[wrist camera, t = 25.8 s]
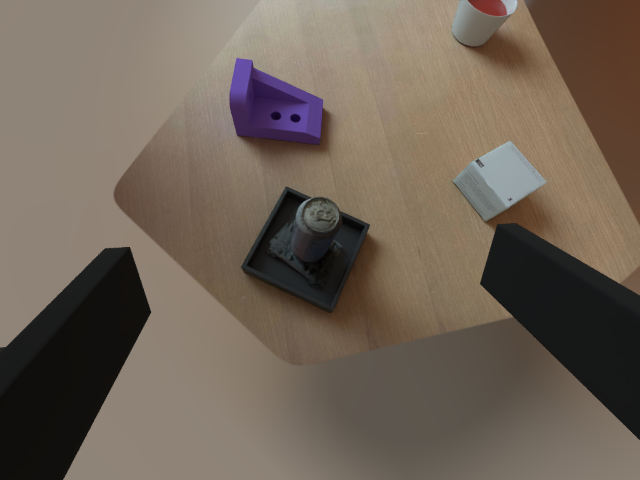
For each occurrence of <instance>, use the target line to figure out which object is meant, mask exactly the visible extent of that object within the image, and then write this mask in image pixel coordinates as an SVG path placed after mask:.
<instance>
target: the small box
mask: <svg viewBox="0 0 640 480" xmlns="http://www.w3.org/2000/svg"><path fill="white" fill-rule="evenodd" d="M453 182H454V183H455V184H456V185H457V187H458V188H459V189H460V190H461V192H462V193H463V194H464V195H465V197H466V198H467V199H468V200H469V202H470V203H471V204H472V206H473V207H474V208H475V209H476V211H477V212H478V213H479V214H480V216H481V217H482V218H483V220H484V221H485V222H486V221H488V220H490V219H491V218H493V217H495V216H496V215H498V214H500V213H502V212H503V211H505V210H506V209H508V208H510V207H511V206H513V205H515V204H516V203H518V202H519V201H521V200H522V199H524V198H525V197H527V196H528V195H529V194H531V193H532V192H534V191H535V190H537V189H538V188H540V187H541V186H542V185H544V184H545V183H547V182H546V180H545V179H544V178H543V177H542V176H541V175H540V174H539V173H538V172H537V171H536V169H535V168H534V167H533V166H532V165H531V164H530V163H529V161H528V160H527V159H526V158H525V157H524V156H523V155H522V154H521V152H520V151H519V150H518V149H517V148H516V147H515V145H514V144H513V143H512V142H511V141H509V142H507V143H505V144H503V145H501V146H500V147H498V148H496V149H494V150H492V151H490V152H489V153H487V154H485V155H483V156H481V157H480V158H478V159H476V160H474V161H472V162H471V163H470V164H469V165H468V166H467V167H466V168H465V169H464V170H463V171H462V172H461V173H460V174H459V175H458V176H457V177H456V178H455V179H454V180H453Z"/></svg>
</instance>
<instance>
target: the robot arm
mask: <svg viewBox="0 0 640 480" xmlns="http://www.w3.org/2000/svg"><path fill="white" fill-rule="evenodd" d="M480 284H481V285H482V286H483V287H484V288H485V289H486V290H487V291H488V292H489V293H490V294H491V295H492V296H493V297H494V298H495V299H496V300H497V301H498V302H499V303H500V304H501V305H502V306H503V307H504V308H505V309H506V310H507V311H508V312H509V313H510V314H511V315H512V316H513V317H514V318H515V319H517V321H518V322H520V323H521V324H522V325H523V326H524V327H525V328H526V329H527V330H528V331H529V332H530V333H531V334H532V335H533V336H534V337H535V338H536V339H537V340H538V341H539V342H540V343H541V344H542V345H543V346H544V347H545V348H546V349H547V350H548V351H549V352H550V353H551V354H552V355H553V356H554V357H555V358H556V359H557V360H558V361H559V362H560V363H562V365H563V366H565V367H566V368H567V369H568V370H569V371H570V372H571V373H572V374H573V375H574V376H575V377H576V378H577V379H578V380H579V381H580V382H581V383H582V384H583V385H584V386H585V387H586V388H587V389H588V390H589V391H590V392H591V393H592V394H593V395H594V396H595V397H596V398H597V399H598V400H599V401H600V402H601V403H602V404H603V405H604V406H605V407H606V408H608V409H609V410H610V411H611V412H612V413H613V414H614V415H615V416H616V417H617V418H618V419H619V420H620V421H621V422H622V423H623V424H624V425H625V426H626V427H627V428H628V429H629V430H630V431H631V432H632V433H633V434H634V435H635V436H636V437H637V438H638V439H639V440H640V295H638V294H636V293H634V292H633V291H631V290H629V289H627V288H626V287H624V286H622V285H621V284H619V283H617V282H616V281H614V280H612V279H610V278H609V277H607V276H605V275H604V274H602V273H600V272H599V271H597V270H595V269H593V268H592V267H590V266H588V265H587V264H585V263H583V262H581V261H580V260H578V259H576V258H575V257H573V256H571V255H569V254H568V253H566V252H564V251H563V250H561V249H559V248H557V247H556V246H554V245H552V244H551V243H549V242H547V241H545V240H544V239H542V238H540V237H539V236H537V235H535V234H533V233H532V232H530V231H528V230H527V229H525V228H523V227H521V226H520V225H518V224H516V223H510V224H497V227H496V231H495V234H494V238H493V241H492V244H491V248H490V251H489V255H488V258H487V262H486V265H485V268H484V272H483V275H482V279H481V282H480ZM150 313H151V310H150V307H149V304H148V301H147V298H146V295H145V292H144V289H143V286H142V283H141V280H140V277H139V273H138V271H137V267H136V264H135V262H134V258H133V255H132V252H131V249H130V247H122V248H105V249H104V250H103V251H102V252H101V253H100V254H99V255H98V256H97V257H96V258H95V259H94V260H93V261H92V262H91V263H90V264H89V265H88V266H87V267H86V268H85V269H84V270H83V271H82V272H81V273H80V274H79V275H78V276H77V277H76V278H75V279H74V280H73V281H72V282H71V283H70V284H69V285H68V286H67V287H66V288H65V289H64V290H63V291H62V292H61V293H60V294H59V295H58V296H57V297H56V298H55V299H54V300H53V301H52V302H51V303H50V304H49V305H48V306H47V307H46V308H45V309H44V310H43V311H42V312H41V313H40V314H39V315H38V316H37V317H36V318H35V319H34V320H33V321H32V322H31V323H30V324H29V325H28V326H27V327H26V328H25V329H24V330H23V331H22V332H21V333H20V334H19V335H18V336H17V337H16V338H15V339H14V340H13V341H12V342H11V343H10V344H9V345H8V346H7V347H3V348H0V480H63V479H64V477H65V475H66V473H67V471H68V469H69V468H70V466H71V464H72V462H73V460H74V458H75V456H76V454H77V452H78V451H79V449H80V446H81V445H82V443H83V441H84V439H85V437H86V435H87V433H88V431H89V430H90V428H91V426H92V424H93V422H94V420H95V418H96V416H97V414H98V412H99V411H100V409H101V407H102V405H103V403H104V401H105V399H106V397H107V395H108V393H109V391H110V390H111V387H112V386H113V384H114V382H115V380H116V378H117V376H118V374H119V372H120V371H121V369H122V366H123V365H124V363H125V361H126V359H127V357H128V355H129V354H130V352H131V350H132V348H133V346H134V344H135V342H136V340H137V338H138V336H139V334H140V333H141V331H142V329H143V327H144V325H145V323H146V321H147V319H148V317H149V315H150Z"/></svg>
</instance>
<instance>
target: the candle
mask: <svg viewBox="0 0 640 480" xmlns="http://www.w3.org/2000/svg"><path fill="white" fill-rule="evenodd" d="M516 8H517V0H460V2H459V5H458V8H457V11H456V14H455V17H454V20H453V23H452V33H453V35H454V37H455V38H456V39H457V40H458V41H459V42H461V43H463V44H465V45H467V46H473V47H476V46H481V45H483V44H484V43H486V42H487V41H488V40H489V38H490V37H491V36H492V35H493V34H494V33H495V32H496V31H497V30H498V29H499V28H500V27H501V25H502V24H503V23H504V22H505V21H506V20H507V19H508V18H509V17H510V16H511V15H512V13H513V12H514V11H515V10H516Z"/></svg>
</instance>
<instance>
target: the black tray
mask: <svg viewBox="0 0 640 480" xmlns="http://www.w3.org/2000/svg"><path fill="white" fill-rule="evenodd" d="M310 198H311V197H308V196H306V195H304V194H302V193H300V192H298V191H295V190H293V189H291V188H289V187H287V186H286V187H285V189H284V191H283V193H282V195H281V196H280V198H279V200H278V202H277V204H276V205H275V207H274V209H273V211H272V212H271V214H270V216H269V218H268V220H267V221H266V223H265V225H264V227H263V229H262V230H261V232H260V234H259V236H258V237H257V239H256V241H255V243H254V245H253V246H252V248H251V250H250V252H249V254H248V255H247V257H246V259H245V261H244V263H243V264H242V266H241V268H242V270H243V271H244V272H245V273H247V274H249V275H251V276H253V277H255V278H258V279H260V280H262V281H264V282H266V283H268V284H270V285H272V286H274V287H276V288H279V289H281V290H283V291H285V292H287V293H289V294H291V295H293V296H295V297H298V298H300V299H302V300H304V301H306V302H308V303H310V304H312V305H314V306H316V307H319V308H321V309H323V310H325V311H327V312H329V313H331V312H333V310H334V308H335V306H336V303H337V301H338V299H339V296H340V294H341V292H342V289H343V287H344V285H345V282H346V280H347V278H348V275H349V273H350V271H351V268H352V266H353V264H354V261H355V259H356V257H357V254H358V252H359V250H360V247H361V245H362V243H363V240H364V238H365V236H366V233H367V231H368V229H369V227H370V224H367V223H365V222H363V221H361V220H359V219H357V218H354V217H352V216H350V215H348V214H346V213H343V212H341V211H340V212H341V216H342V224H341V227H340V230H339V231H338V233H337V235H336V236H335V238H334V240H335V241H336V242H339V243H340V245H341V246H343V247H341V251H340V253H339V255H338V256H337V257H338V258H337V259H336V260H335V261H334V262H336V263H334V264H333V265H334V267H333V268H332V269H333V270H332V269H331V270H328V269H327V268H326V270H325V271H327V272H328V273H329V274H330V276H329V278H328V280H329V281H327V285H324V288H323V287H322V286H321V285H320V284H319V283H316V284H315V285H316V287H312V286H311V285H310V284H308V283H307V282H306V280H307V278H306V277H305V276H303V275H302V274H301V273H299V272H298V271H297V270H295V269H294V268H292V267H291V266H290V265H289V264H288V263H286V262H285V261H283V260H282V259H281V258H274V257H273V256H271V255H269V254H268V252H266V248H269V249H270V245H272V244H271V243H269V242H270V241H271V240H272V238H273V237H274V236H275V237H274V238H275V239H277V237H276V235H277V233H278V234H279V232H280V230H281V229H282V228H283V227H284V226H285V225H286V224H287V223H288V224H287V225H289V224H290V223H291V222H292V221H293V220H295V218H296V214H297V211H298V208H299V207H300V205H301V204H302V203H303V202H304V201H306V200H308V199H310ZM286 227H287V226H286ZM274 238H273V239H274ZM265 246H266V248H265ZM331 265H332V264H330V266H331ZM333 265H332V266H333ZM330 266H329V268H330ZM330 271H331V272H330Z"/></svg>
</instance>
